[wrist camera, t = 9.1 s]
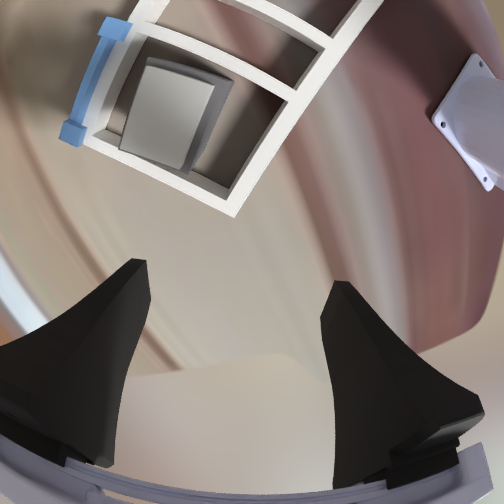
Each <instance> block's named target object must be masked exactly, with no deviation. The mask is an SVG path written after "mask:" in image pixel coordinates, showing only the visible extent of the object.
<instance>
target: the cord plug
mask: <svg viewBox="0 0 504 504" xmlns="http://www.w3.org/2000/svg"><path fill="white" fill-rule="evenodd" d="M234 82H235V81H232V80H229V79H227V78H224V77H221V76H218V75H215V74H213V73H210V72H207V71H204V70H201V69H198V68H195V67H191V66H188V65H185V64H182V63H178V62H174V61H169V60H164V59H159V58H153V57H148V58H147V61H146V63H145V66H144V68H143V71H142V74H141V76H140V79H139V82H138V85H137V87H136V90H135V93H134V96H133V99H132V102H131V105H130V108H129V112H128V115H127V118H126V121H125V125H124V128H123V132H122V135H121V139H120V143H119V147H118V150H120V151H123V152H126V153H129V154H132V155H135V156H138V157H141V158H144V159H146V160H149V161H152V162H155V163H158V164H160V165H163V166H166V167H169V168H172V169H174V170H177V171H180V172H182V173H185V174H189V172H190V171H191V169H192V168H193V166H194V165H195V163H196V162H197V160H198V159H199V157H200V156H201V154H202V153H203V151H204V150H205V148H206V145H207V143H208V140H209V138H210V135H211V133H212V131H213V128H214V126H215V124H216V121H217V119H218V117H219V114H220V112H221V110H222V108H223V105H224V103H225V101H226V99H227V97H228V94H229V92H230V90H231V88H232V86H233V84H234Z"/></svg>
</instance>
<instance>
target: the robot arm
mask: <svg viewBox="0 0 504 504" xmlns="http://www.w3.org/2000/svg"><path fill="white" fill-rule="evenodd" d="M479 62H480V65H479ZM432 122H433V124H434V125H435V126H436V127H437V128H438V130H439V131H440V132H441V133H442V134H443V135H444V136H445V138H446V139H447V140H448V141H449V142H450V143H451V145H452V146H453V147H454V148H455V150H456V151H457V152H458V153H459V155H460V156H461V157H462V158H463V160H464V161H465V162H466V164H467V165H468V166H469V168H470V169H471V170H472V172H473V173H474V174H475V176H476V177H477V179H478V180H479V181H480V183H481V184H482V186H483V187H484V189H485V190H487V191H490V190H491V189H492V188H493V186H494V185H496V186H498V187H499V188H500V189H502V190H503V191H504V80H499V79H496V78H495V77H494V75H493V74H492V72H491V71H490V70H489V68H488V67H487V65H486V64H485V63H484V61H483V60H482V59H481V57H480V56H479V55H478V54H472V55H471V56H470V58H469V59H468V61H467V63H466V64H465V66H464V68H463V69H462V71H461V73H460V74H459V76H458V77H457V79H456V81H455V82H454V84H453V85H452V87H451V88H450V90H449V91H448V93H447V95H446V96H445V98H444V99H443V101H442V102H441V104H440V105H439V107H438V108H437V110H436V111H435V113H434V114H433V116H432ZM441 122H443V126H442V127H441ZM483 179H484V180H483ZM150 302H151V295H150V288H149V280H148V272H147V263H146V260H141V259H133V258H131V259H130V260H129V261H128V262H126V263H125V264H124V265H123V266H122V267H120V268H119V269H118V270H117V271H116V272H115V273H114V274H112V275H111V276H110V277H109V278H108V279H106V280H105V281H104V282H103V283H102V284H101V285H99V286H98V287H97V288H96V289H95V290H93V291H92V292H91V293H90V294H88V295H87V296H86V297H84V298H83V299H82V300H81V301H79V302H78V303H77V304H76V305H74V306H73V307H71V308H70V309H69V310H67V311H66V312H64V313H63V314H61V315H60V316H58V317H57V318H55V319H54V320H52V321H50V322H49V323H47V324H45V325H43V326H42V327H40V328H38V329H36V330H35V331H33V332H31V333H29V334H27V335H25V336H23V337H21V338H19V339H17V340H14V341H12V342H10V343H7V344H5V345H2V346H0V492H1V493H2V494H3V495H4V496H5V497H7V498H8V499H9V500H11V501H12V502H13V503H15V504H132V503H129V502H125V501H122V500H118V499H115V498H112V497H109V496H106V495H105V493H104V491H103V490H102V489H101V488H103V489H106V490H109V491H112V492H116V493H119V494H122V495H126V496H129V497H133V498H137V499H141V500H145V501H149V502H154V503H159V504H474V503H475V502H477V501H478V500H480V499H481V498H483V497H484V496H486V495H487V494H489V493H490V492H492V491H493V484H492V480H491V476H490V472H489V467H488V464H487V460H486V456H485V452H484V449H483V445H482V443H481V442H479V443H477V444H475V445H473V446H471V447H468V448H466V449H464V450H463V451H460V452H458V453H457V451H456V447H458V446H459V445H460V443H459V439H458V437H460V436H461V435H463V434H464V433H465V432H466V431H468V430H470V429H471V428H472V427H473V426H475V425H476V424H477V423H479V422H480V421H481V420H482V419H483V417H484V415H485V413H484V410H483V407H482V404H481V401H480V399H479V396H478V395H477V394H474V393H473V392H471V391H469V390H467V389H465V388H464V387H462V386H460V385H458V384H457V383H455V382H453V381H452V380H450V379H449V378H447V377H446V376H444V375H443V374H441V373H440V372H438V371H437V370H436V369H434V368H433V367H432V366H431V365H429V364H428V363H427V362H425V361H424V360H423V359H422V358H420V357H419V356H418V355H417V354H416V353H415V352H414V351H413V350H411V349H410V348H409V347H408V346H407V345H406V344H405V343H404V342H403V341H402V340H401V339H400V338H399V337H398V336H397V335H396V334H395V333H394V332H393V331H392V330H391V329H390V328H389V327H388V326H387V324H386V323H385V322H384V321H383V320H382V319H381V318H380V317H379V316H378V314H377V313H376V312H375V311H374V310H373V309H372V307H371V306H370V305H369V304H368V303H367V302H366V300H365V299H364V298H363V297H362V296H361V295H360V293H359V292H358V291H357V290H356V289H355V288H354V287H353V285H352V284H351V283H350V282H347V281H336V280H335V281H334V283H333V286H332V289H331V291H330V294H329V296H328V299H327V301H326V304H325V306H324V309H323V311H322V314H321V316H320V321H321V333H322V341H323V346H324V351H325V356H326V360H327V365H328V369H329V374H330V379H331V384H332V390H333V396H334V410H335V435H336V436H335V438H336V439H335V464H334V477H333V490H327V491H319V492H309V493H297V494H276V495H247V494H246V495H245V494H226V493H213V492H203V491H195V490H188V489H181V488H175V487H169V486H164V485H159V484H154V483H149V482H145V481H141V480H137V479H133V478H128V477H125V476H122V475H118V474H115V473H111V472H108V471H105V470H102V469H99V468H96V467H93V466H90V465H88V464H86V463H89V464H92V465H98V466H101V467H104V468H109V467H111V466H112V465H114V452H115V437H116V428H117V420H118V413H119V407H120V402H121V396H122V391H123V387H124V382H125V377H126V374H127V371H128V367H129V365H130V362H131V359H132V356H133V354H134V351H135V348H136V346H137V343H138V340H139V338H140V335H141V332H142V330H143V327H144V325H145V322H146V318H147V314H148V310H149V306H150Z"/></svg>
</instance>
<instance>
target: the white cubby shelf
mask: <svg viewBox="0 0 504 504" xmlns="http://www.w3.org/2000/svg"><path fill="white" fill-rule="evenodd" d="M169 1H170V0H140V1H139V2H138V4H137V5H136V7H135V9H134V10H133V12H132V14H131V15H130V17H129V19H128V21H123V20H119V19H116V18H112V17H108V16H107V17H106V19H105V21H104V23H103V24H102V26H101V28H100V30H99V32H98V34H97V35H100V36H102V37H101V39H100V41H99V43H98V45H97V47H96V50H95V52H94V54H93V56H92V58H91V61H90V63H89V65H88V68H87V70H86V72H85V75H84V77H83V80H82V83H81V85H80V88H79V91H78V93H77V96H76V99H75V102H74V105H73V108H72V111H71V114H70V117H69V120H66V121H64V122H63V125H62V129H61V132H60V136H59V139H60V140H62V141H64V142H66V143H69V144H71V145H73V146H75V147H79V146H81V145H82V144H84V145H86V146H88V147H90V148H92V149H95V150H97V151H99V152H101V153H103V154H105V155H107V156H109V157H112V158H114V159H116V160H118V161H120V162H122V163H124V164H126V165H128V166H130V167H133V168H135V169H137V170H139V171H141V172H143V173H145V174H147V175H149V176H151V177H153V178H155V179H157V180H159V181H161V182H163V183H165V184H167V185H170V186H172V187H174V188H176V189H178V190H180V191H182V192H184V193H186V194H188V195H190V196H192V197H194V198H196V199H198V200H200V201H202V202H204V203H206V204H208V205H210V206H212V207H214V208H216V209H218V210H220V211H222V212H223V213H225V214H227V215H229V216H231V217H233V218H234V217H235V216H236V214H237V212H238V211H239V209H240V208H241V206H242V204H243V203H244V201H245V200H246V198H247V197H248V195H249V193H250V192H251V190H252V189H253V187H254V186H255V184H256V183H257V181H258V179H259V178H260V176H261V175H262V173H263V172H264V170H265V169H266V167H267V166H268V164H269V162H270V161H271V159H272V158H273V156H274V155H275V153H276V152H277V150H278V149H279V147H280V146H281V144H282V143H283V141H284V140H285V138H286V137H287V135H288V134H289V132H290V131H291V129H292V128H293V126H294V125H295V123H296V122H297V120H298V119H299V117H300V116H301V114H302V113H303V112H304V110H305V109H306V107H307V106H308V104H309V103H310V101H311V100H312V98H313V97H314V96H315V94H316V93H317V91H318V90H319V88H320V87H321V85H322V84H323V83H324V81H325V80H326V78H327V77H328V76H329V74H330V73H331V71H332V70H333V68H334V67H335V66H336V64H337V63H338V61H339V60H340V59H341V57H342V56H343V55H344V53H345V52H346V50H347V49H348V48H349V46H350V45H351V44H352V42H353V41H354V39H355V38H356V37H357V35H358V34H359V33H360V31H361V30H362V29H363V27H364V26H365V25H366V23H367V22H368V21H369V19H370V18H371V17H372V15H373V14H374V13H375V11H376V10H377V9H378V8H379V6H380V5H381V4H382V2H383V1H384V0H357V1H356V3H355V4H354V5H353V6H352V8H351V9H350V10H349V11H348V13H347V14H346V15H345V17H344V18H343V19H342V21H341V22H340V23H339V25H338V26H337V27H336V29H335V30H334V31H333V33H332V34H331V35H330V37H329V36H328V35H326V34H324V33H323V32H321V31H320V30H318V29H317V28H315V27H313V26H312V25H310V24H308V23H307V22H305V21H303V20H301V19H300V18H298V17H296V16H294V15H293V14H291V13H289V12H287V11H285V10H283V9H281V8H279V7H278V6H276V5H274V4H272V3H270V2H267V1H265V0H218V1H220V2H223V3H225V4H228V5H230V6H233V7H235V8H237V9H240V10H242V11H244V12H246V13H248V14H251V15H253V16H255V17H257V18H259V19H261V20H263V21H265V22H267V23H269V24H271V25H273V26H275V27H277V28H278V29H280V30H282V31H284V32H286V33H288V34H289V35H291V36H293V37H295V38H296V39H298V40H300V41H301V42H303V43H305V44H306V45H308V46H310V47H311V48H313V49H314V50H316V51H317V52H318V53H317V55H316V56H315V57H314V59H313V60H312V62H311V63H310V64H309V66H308V67H307V69H306V70H305V72H304V73H303V74H302V76H301V77H300V79H299V80H298V82H297V83H296V85H295V86H294V87H293V89H292V88H290V87H289V86H287V85H285V84H284V83H282V82H280V81H279V80H277V79H275V78H273V77H272V76H270V75H268V74H266V73H264V72H263V71H261V70H259V69H257V68H255V67H253V66H251V65H250V64H248V63H246V62H244V61H242V60H240V59H238V58H236V57H234V56H232V55H229V54H227V53H225V52H223V51H221V50H219V49H217V48H214V47H212V46H210V45H208V44H205V43H203V42H201V41H198V40H196V39H193V38H191V37H188V36H186V35H183V34H181V33H178V32H175V31H172V30H170V29H167V28H164V27H161V26H158V25H155V23H156V22H157V20H158V18H159V17H160V15H161V13H162V12H163V10H164V9H165V7H166V6H167V4H168V3H169ZM148 36H150V37H153V38H156V39H159V40H161V41H164V42H167V43H169V44H172V45H175V46H177V47H180V48H182V49H185V50H187V51H189V52H192V53H194V54H196V55H199V56H201V57H203V58H206V59H208V60H210V61H212V62H214V63H216V64H219V65H221V66H223V67H225V68H227V69H229V70H231V71H233V72H235V73H237V74H239V75H241V76H243V77H245V78H247V79H249V80H250V81H252V82H254V83H256V84H258V85H260V86H261V87H263V88H265V89H267V90H269V91H270V92H272V93H274V94H276V95H277V96H279V97H281V98H282V99H284V100H285V101H284V102H283V104H282V105H281V107H280V108H279V110H278V111H277V113H276V114H275V116H274V118H273V119H272V121H271V122H270V124H269V125H268V127H267V128H266V130H265V131H264V133H263V135H262V136H261V138H260V139H259V141H258V142H257V144H256V146H255V147H254V149H253V150H252V152H251V154H250V155H249V157H248V158H247V160H246V162H245V163H244V165H243V167H242V168H241V170H240V171H239V173H238V175H237V176H236V178H235V180H234V181H233V183H232V185H231V186H230V188H229V189H227V188H225V187H223V186H221V185H219V184H218V183H216V182H214V181H212V180H210V179H208V178H206V177H204V176H202V175H200V174H198V173H196V172H194V171H192V170H191V171H190V172H189V174H185V173H182V172H180V171H177V170H174V169H172V168H169V167H166V166H163V165H160V164H158V163H155V162H152V161H149V160H146V159H144V158H141V157H138V156H135V155H132V154H129V153H126V152H123V151H120V150H118V147H119V143H120V139H121V136H119V135H117V134H114V133H112V132H110V131H108V130H105V129H106V126H107V123H108V121H109V118H110V116H111V113H112V110H113V108H114V105H115V103H116V101H117V98H118V96H119V94H120V91H121V89H122V87H123V84H124V82H125V80H126V78H127V76H128V74H129V72H130V69H131V67H132V65H133V63H134V61H135V59H136V57H137V55H138V54H139V52H140V50H141V48H142V46H143V44H144V42H145V41H146V39H147V37H148Z"/></svg>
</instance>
